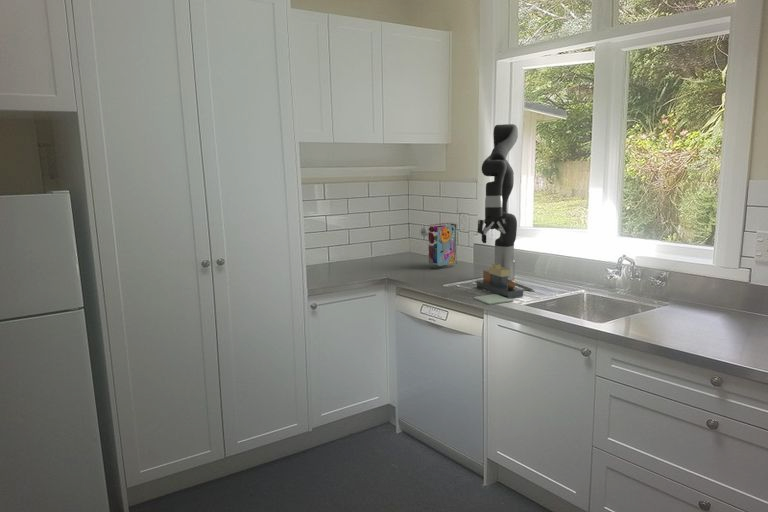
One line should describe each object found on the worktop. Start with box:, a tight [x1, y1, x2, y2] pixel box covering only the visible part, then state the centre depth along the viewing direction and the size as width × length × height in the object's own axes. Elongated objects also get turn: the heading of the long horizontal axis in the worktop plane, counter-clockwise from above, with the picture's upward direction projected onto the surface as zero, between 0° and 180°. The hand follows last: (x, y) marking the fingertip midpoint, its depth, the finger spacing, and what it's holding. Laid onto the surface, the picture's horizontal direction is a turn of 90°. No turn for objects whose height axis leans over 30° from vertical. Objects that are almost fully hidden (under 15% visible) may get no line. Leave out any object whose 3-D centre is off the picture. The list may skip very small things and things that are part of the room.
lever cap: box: [488, 263, 510, 277], centre depth 250 cm, size 5×9×4 cm, turn 24°
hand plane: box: [476, 269, 524, 299], centre depth 251 cm, size 8×24×8 cm, turn 24°
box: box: [420, 222, 458, 270], centre depth 304 cm, size 25×6×24 cm, turn 129°
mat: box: [472, 293, 514, 306], centre depth 237 cm, size 12×12×1 cm
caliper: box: [507, 278, 536, 292], centre depth 258 cm, size 20×1×6 cm, turn 47°
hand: (493, 242), depth 247 cm, fingers open, 8 cm apart
